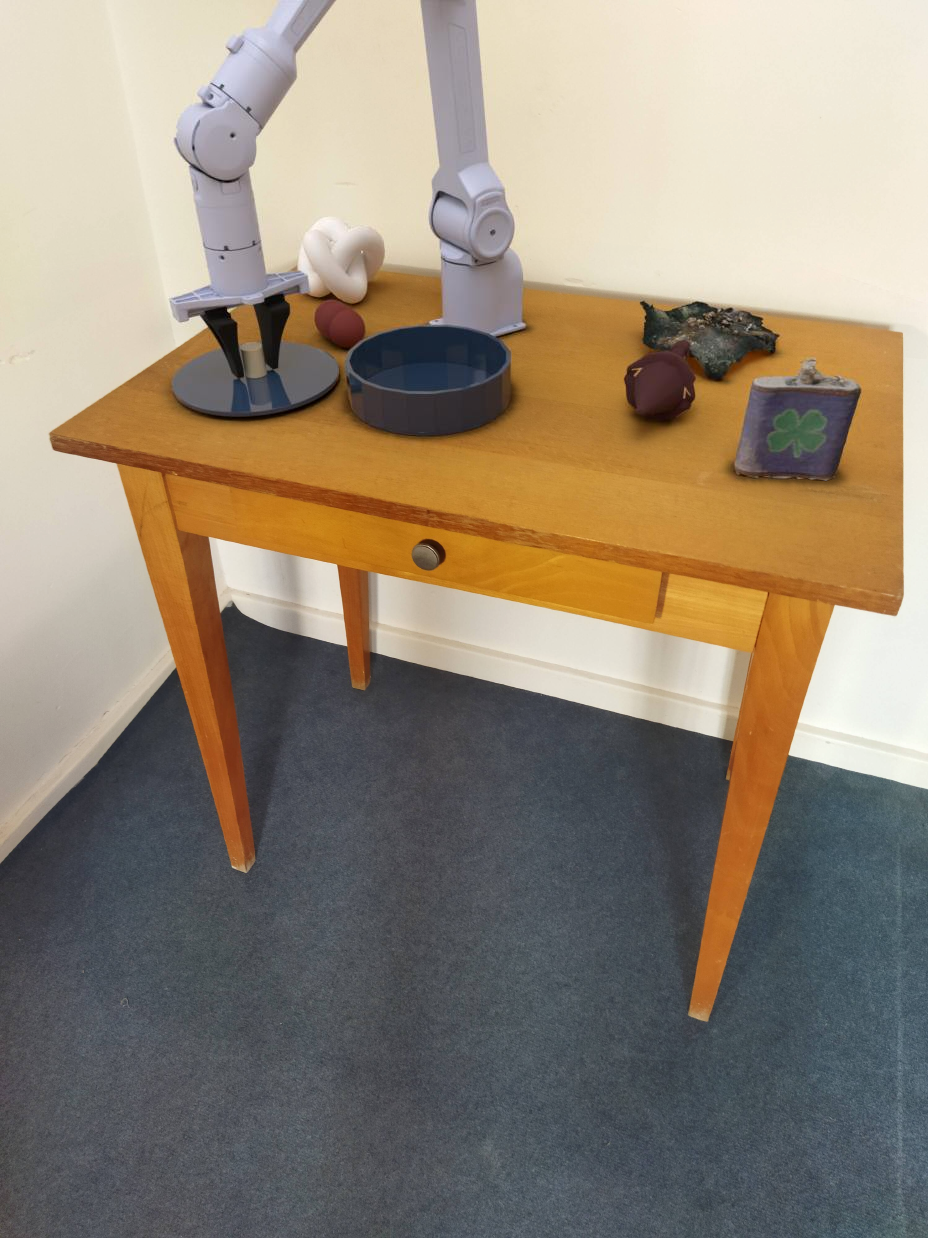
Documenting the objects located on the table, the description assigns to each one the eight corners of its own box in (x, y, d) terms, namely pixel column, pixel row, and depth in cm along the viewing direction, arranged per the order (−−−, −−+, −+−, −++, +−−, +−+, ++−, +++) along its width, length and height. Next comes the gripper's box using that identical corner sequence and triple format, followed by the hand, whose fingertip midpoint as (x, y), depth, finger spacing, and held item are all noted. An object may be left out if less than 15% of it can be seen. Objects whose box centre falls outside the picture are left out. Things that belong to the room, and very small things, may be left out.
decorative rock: (678, 274, 111) (800, 285, 104) (673, 323, 114) (791, 337, 107) (619, 314, 97) (755, 330, 91) (616, 369, 101) (747, 387, 94)
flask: (734, 477, 81) (758, 366, 74) (731, 461, 83) (753, 352, 76) (838, 482, 80) (872, 370, 73) (831, 465, 82) (863, 356, 75)
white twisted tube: (371, 273, 125) (365, 205, 119) (403, 300, 116) (398, 229, 111) (294, 286, 121) (284, 217, 115) (321, 315, 113) (312, 243, 107)
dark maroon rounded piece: (691, 394, 80) (724, 346, 91) (618, 362, 81) (658, 318, 92) (661, 459, 84) (696, 405, 95) (592, 427, 86) (634, 378, 97)
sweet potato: (342, 326, 110) (338, 291, 107) (373, 348, 105) (370, 311, 102) (310, 334, 108) (306, 298, 105) (340, 356, 103) (336, 319, 100)
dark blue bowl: (454, 351, 104) (453, 312, 101) (542, 406, 92) (544, 364, 90) (322, 388, 97) (317, 348, 94) (400, 452, 85) (397, 409, 83)
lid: (298, 337, 107) (293, 302, 105) (368, 392, 96) (365, 354, 93) (151, 374, 100) (142, 337, 97) (208, 438, 88) (199, 399, 86)
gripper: (175, 266, 83) (204, 400, 91) (315, 238, 89) (330, 366, 97) (151, 247, 87) (182, 376, 96) (286, 221, 93) (303, 345, 102)
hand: (255, 370), depth 97 cm, fingers open, 3 cm apart
